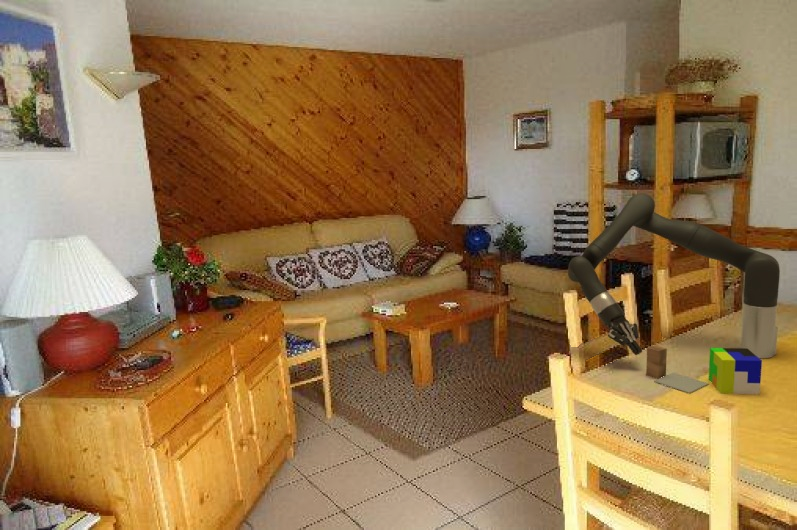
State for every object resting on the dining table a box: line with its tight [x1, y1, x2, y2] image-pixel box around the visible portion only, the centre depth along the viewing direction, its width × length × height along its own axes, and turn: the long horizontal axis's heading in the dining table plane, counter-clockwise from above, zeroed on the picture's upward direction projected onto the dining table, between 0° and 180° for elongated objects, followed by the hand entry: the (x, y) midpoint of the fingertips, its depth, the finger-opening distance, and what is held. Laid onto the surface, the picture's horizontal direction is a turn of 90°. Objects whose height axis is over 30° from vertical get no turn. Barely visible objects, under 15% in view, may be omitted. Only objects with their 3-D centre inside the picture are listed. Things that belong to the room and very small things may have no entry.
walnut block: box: [645, 344, 668, 380], centre depth 172 cm, size 4×4×9 cm
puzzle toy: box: [708, 347, 763, 395], centre depth 161 cm, size 10×10×10 cm
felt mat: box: [653, 372, 710, 394], centre depth 166 cm, size 10×11×1 cm
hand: (639, 353), depth 176 cm, fingers closed
